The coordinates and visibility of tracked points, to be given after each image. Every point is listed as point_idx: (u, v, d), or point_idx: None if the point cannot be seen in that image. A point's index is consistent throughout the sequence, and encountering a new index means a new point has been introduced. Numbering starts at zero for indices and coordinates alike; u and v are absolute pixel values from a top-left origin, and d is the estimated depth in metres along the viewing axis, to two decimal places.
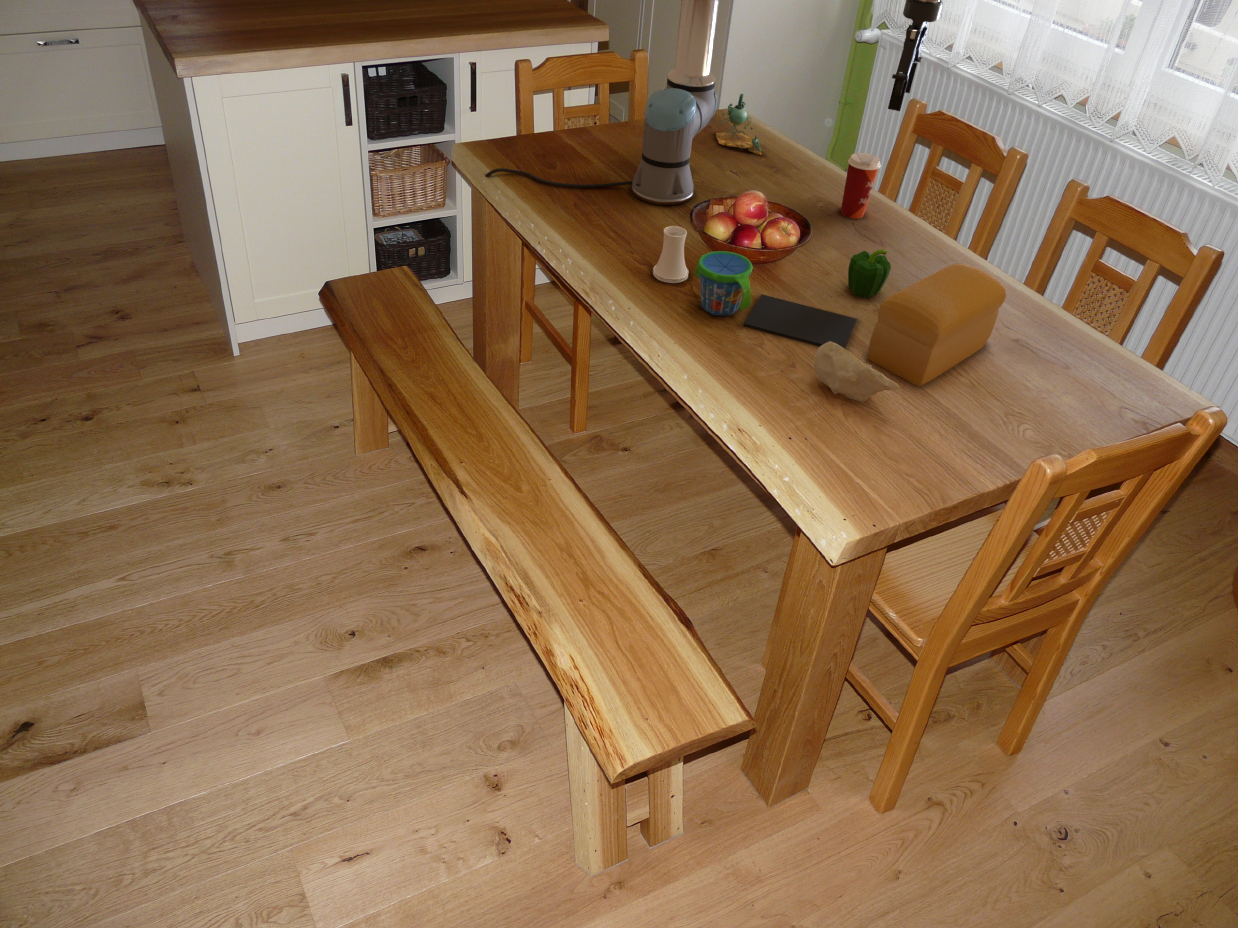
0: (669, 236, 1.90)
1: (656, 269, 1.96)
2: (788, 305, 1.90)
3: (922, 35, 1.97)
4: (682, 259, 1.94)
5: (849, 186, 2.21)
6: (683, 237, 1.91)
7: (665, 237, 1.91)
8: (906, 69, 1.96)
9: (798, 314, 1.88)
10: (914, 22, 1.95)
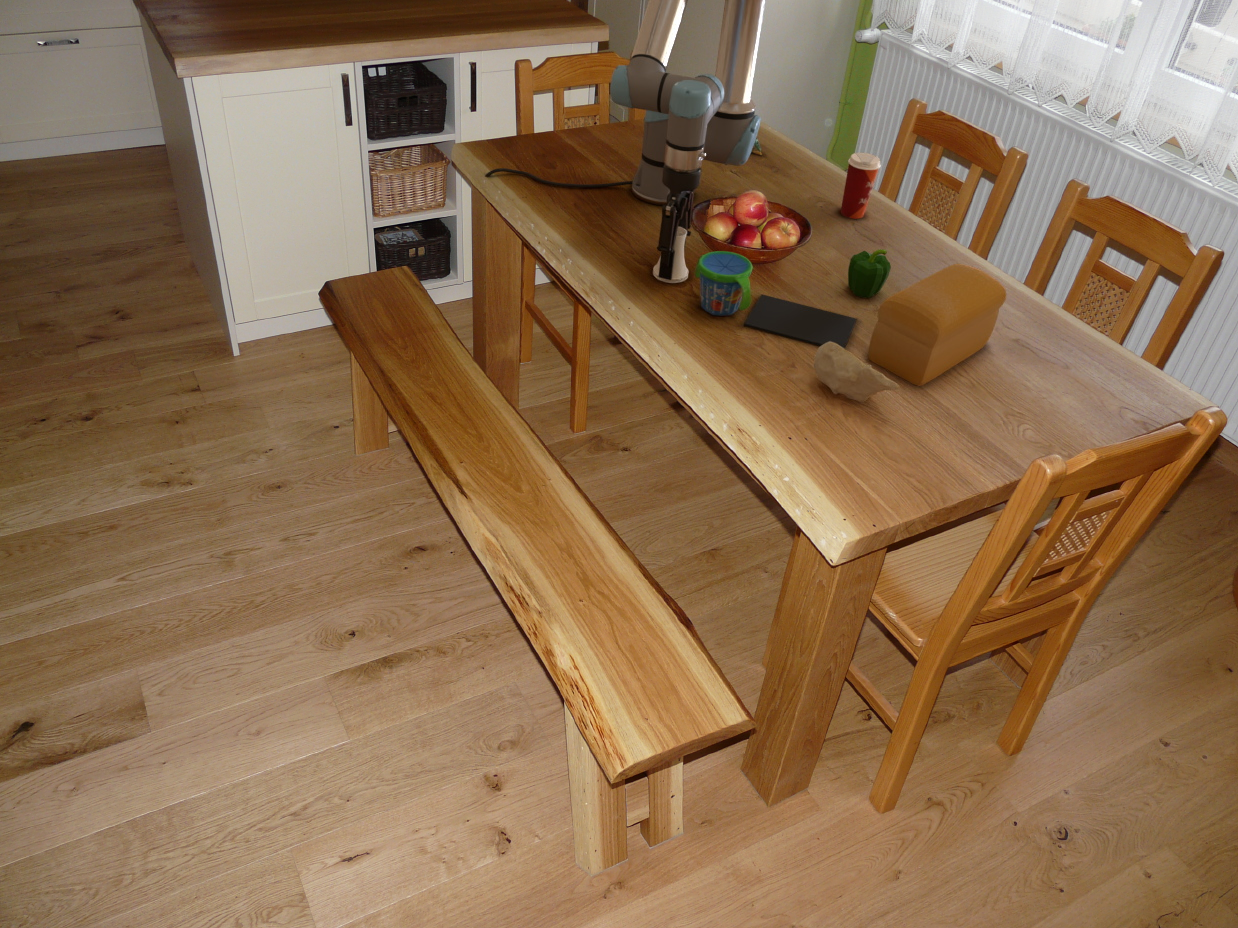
0: None
1: (656, 269, 1.96)
2: (788, 305, 1.90)
3: (682, 204, 1.85)
4: (682, 259, 1.94)
5: (849, 186, 2.21)
6: (683, 237, 1.91)
7: None
8: (667, 244, 1.86)
9: (798, 314, 1.88)
10: (671, 191, 1.83)
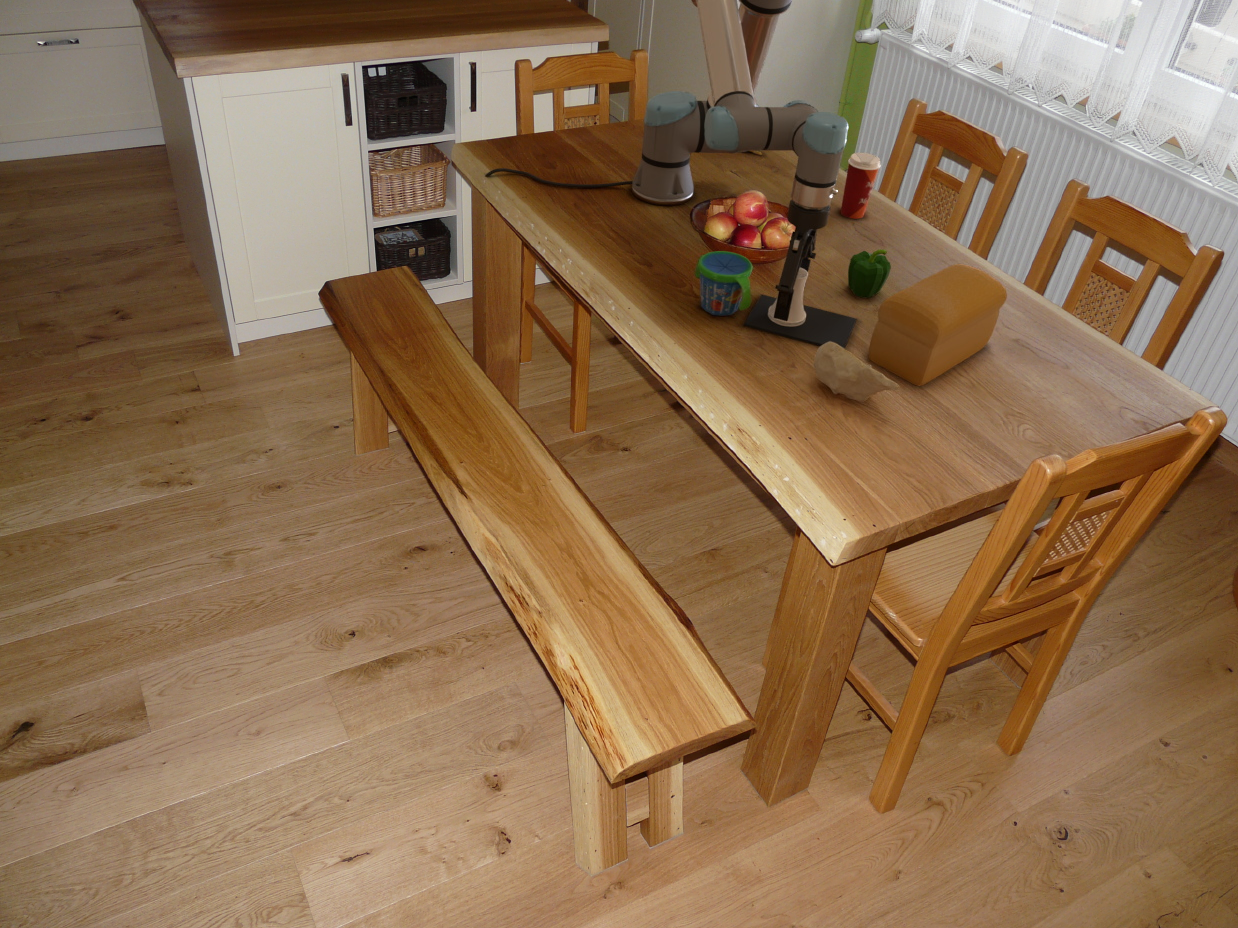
0: None
1: (772, 311, 1.85)
2: None
3: (808, 241, 1.73)
4: (801, 301, 1.83)
5: (849, 186, 2.21)
6: (805, 279, 1.79)
7: None
8: (789, 282, 1.71)
9: None
10: (798, 229, 1.71)
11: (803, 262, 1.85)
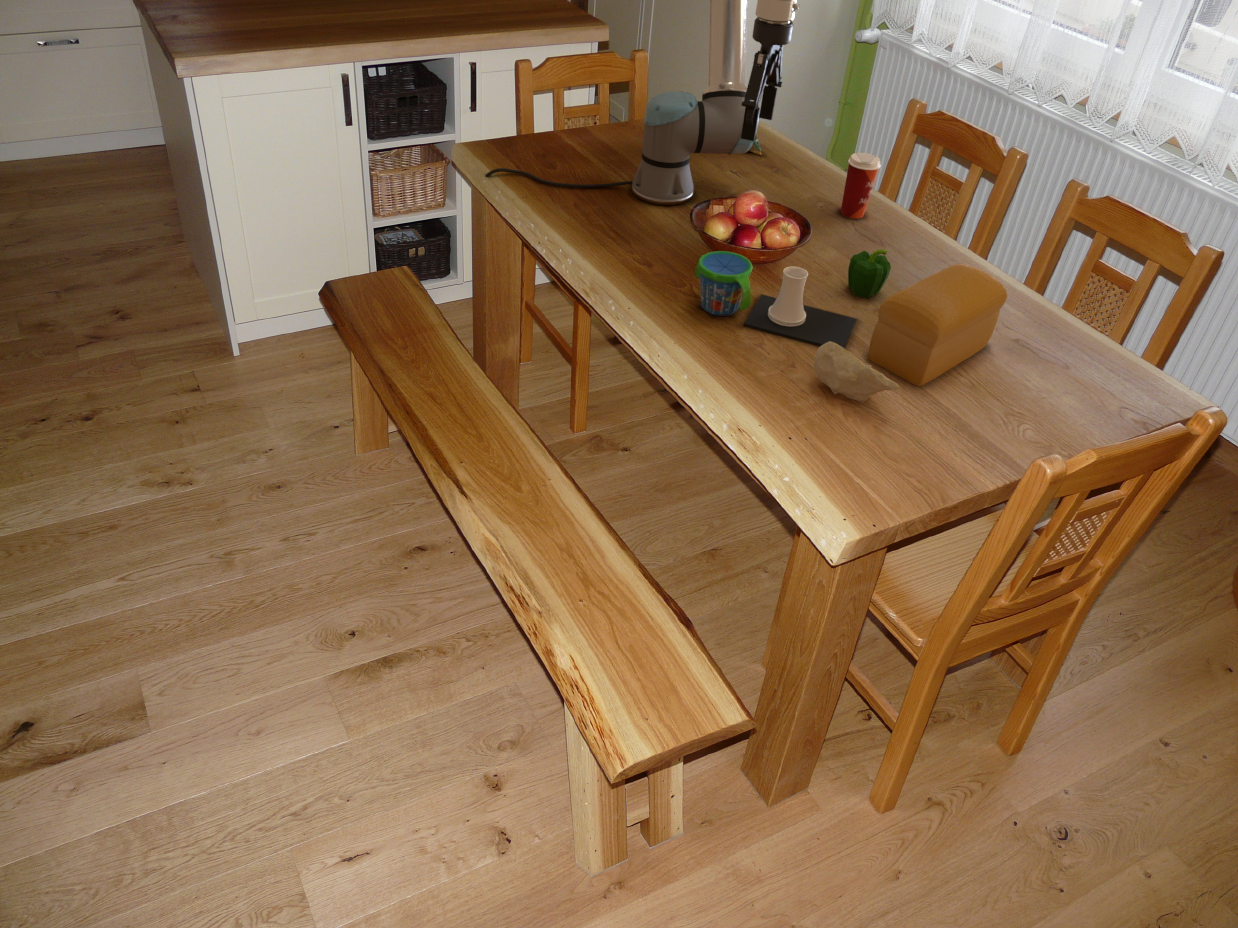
0: (790, 278, 1.79)
1: (772, 311, 1.85)
2: None
3: (773, 59, 1.81)
4: (801, 301, 1.83)
5: (849, 186, 2.21)
6: (805, 279, 1.79)
7: (785, 278, 1.80)
8: (754, 96, 1.80)
9: None
10: (762, 45, 1.79)
11: (770, 91, 1.94)
